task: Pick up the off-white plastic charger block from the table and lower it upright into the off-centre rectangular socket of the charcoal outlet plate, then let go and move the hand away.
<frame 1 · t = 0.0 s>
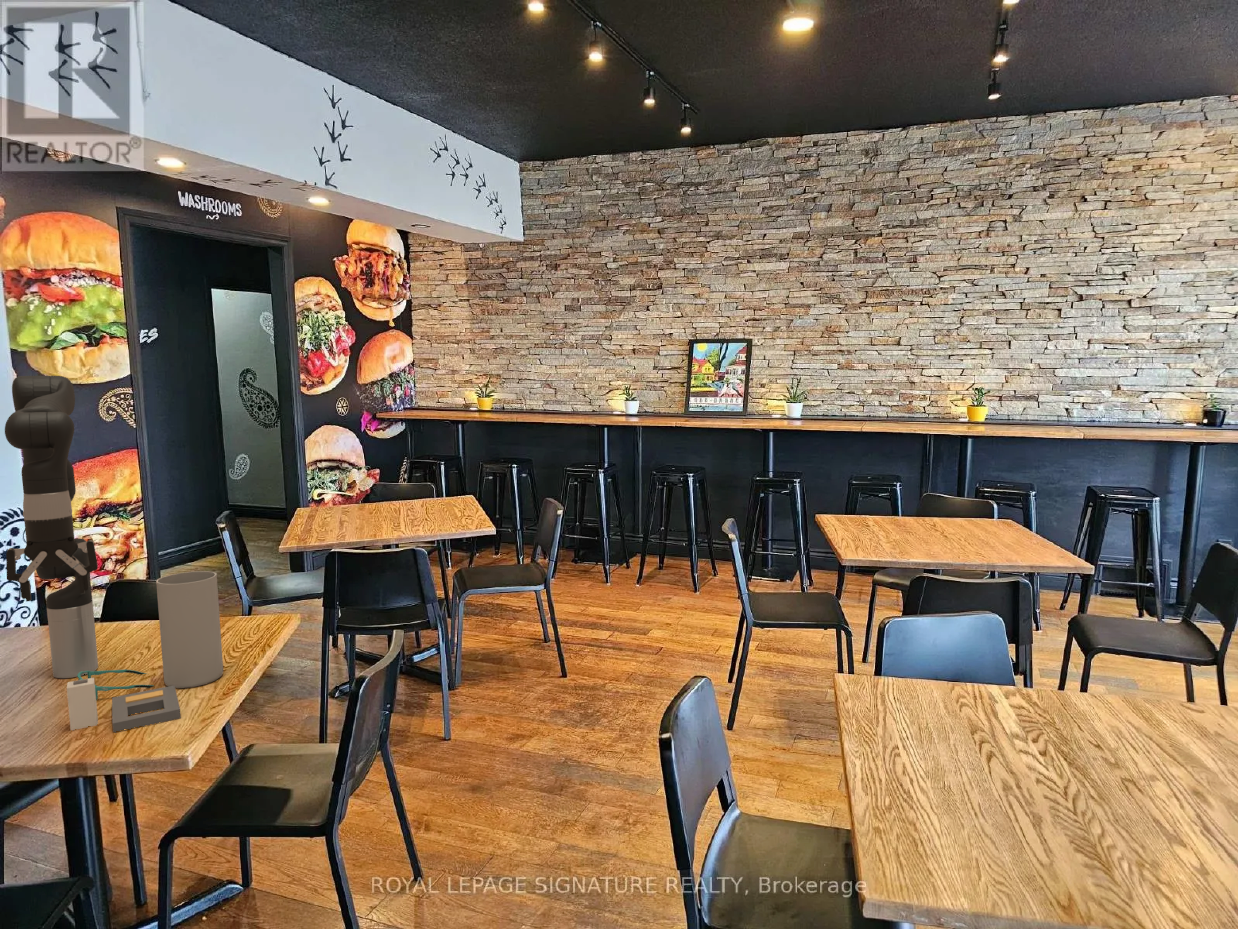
hand: (56, 596, 151), 29 cm above the table, tool pointing down, fingers open, 8 cm apart
cylinder vase: (194, 680, 185), on the table
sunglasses: (115, 690, 181), on the table
outlet plate: (146, 712, 167), on the table
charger: (84, 724, 161), on the table
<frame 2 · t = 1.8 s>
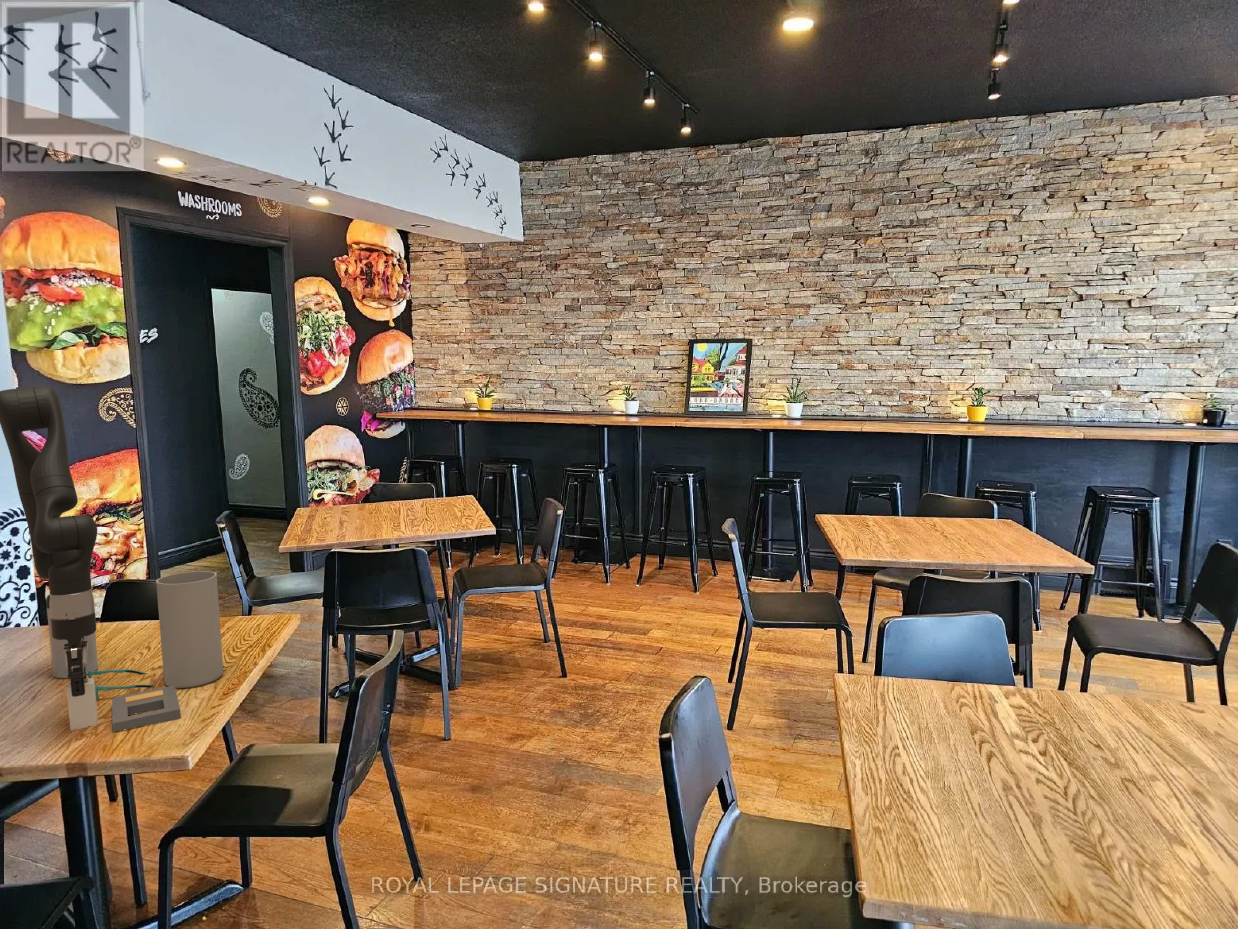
hand: (79, 689, 160), 8 cm above the table, tool pointing down, fingers open, 8 cm apart
nothing on the table moved.
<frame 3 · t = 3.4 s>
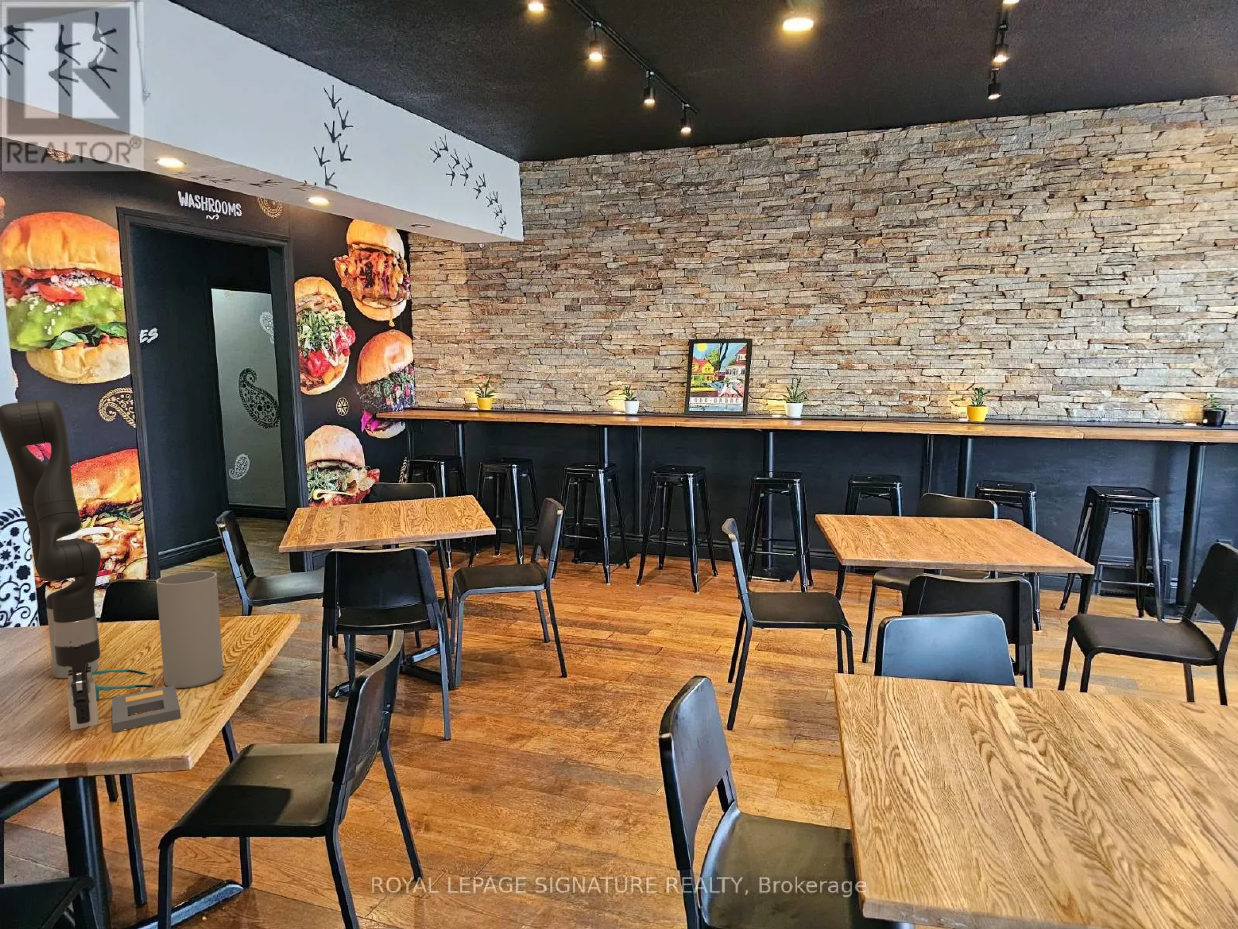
hand: (84, 718, 161), 1 cm above the table, tool pointing down, fingers closed on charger, 4 cm apart
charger: (84, 724, 161), on the table, touching gripper
everything else where it was.
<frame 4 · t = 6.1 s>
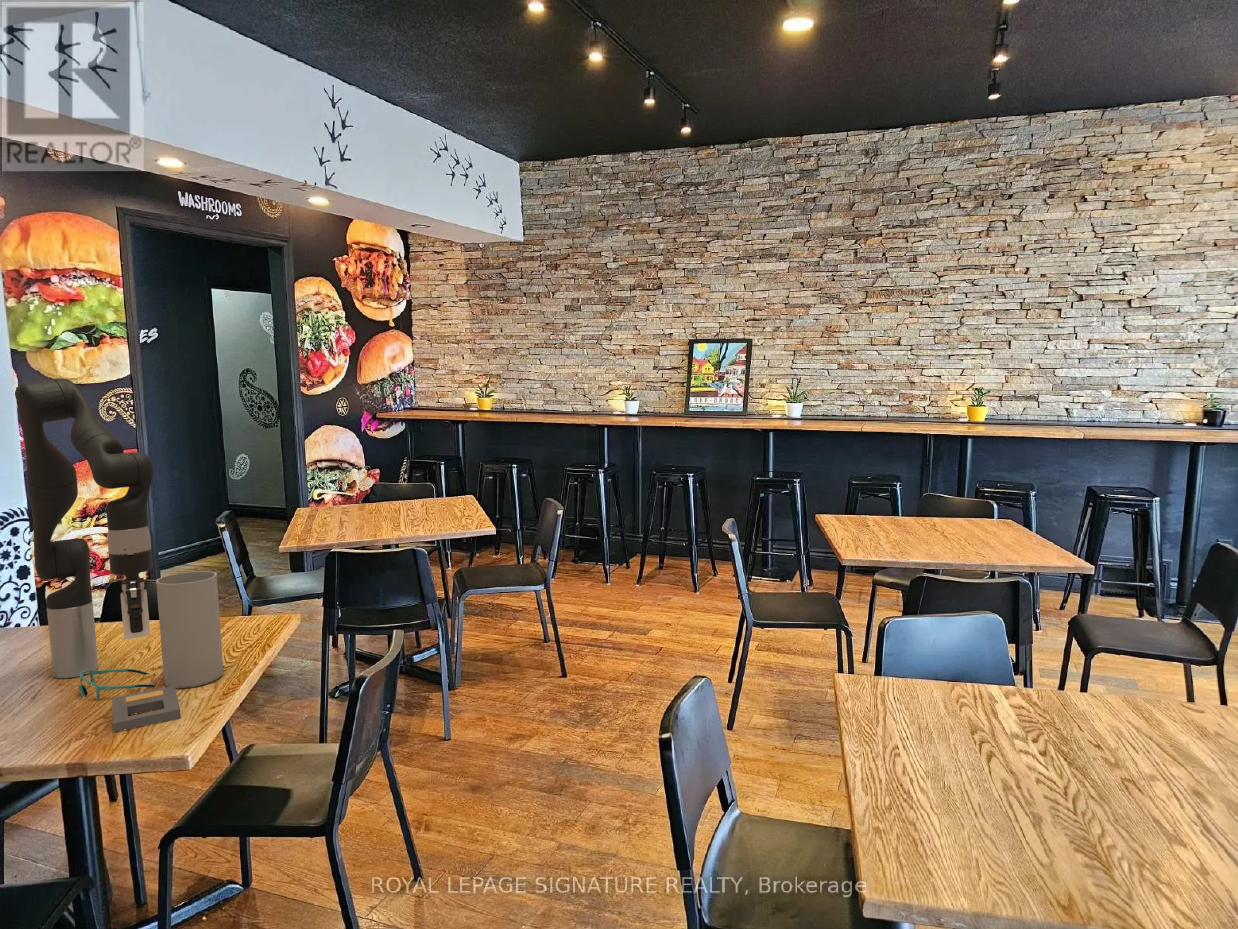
hand: (136, 628, 162), 19 cm above the table, tool pointing down, fingers closed on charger, 4 cm apart
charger: (137, 635, 162), point 18 cm above the table, touching gripper
everything else where it was.
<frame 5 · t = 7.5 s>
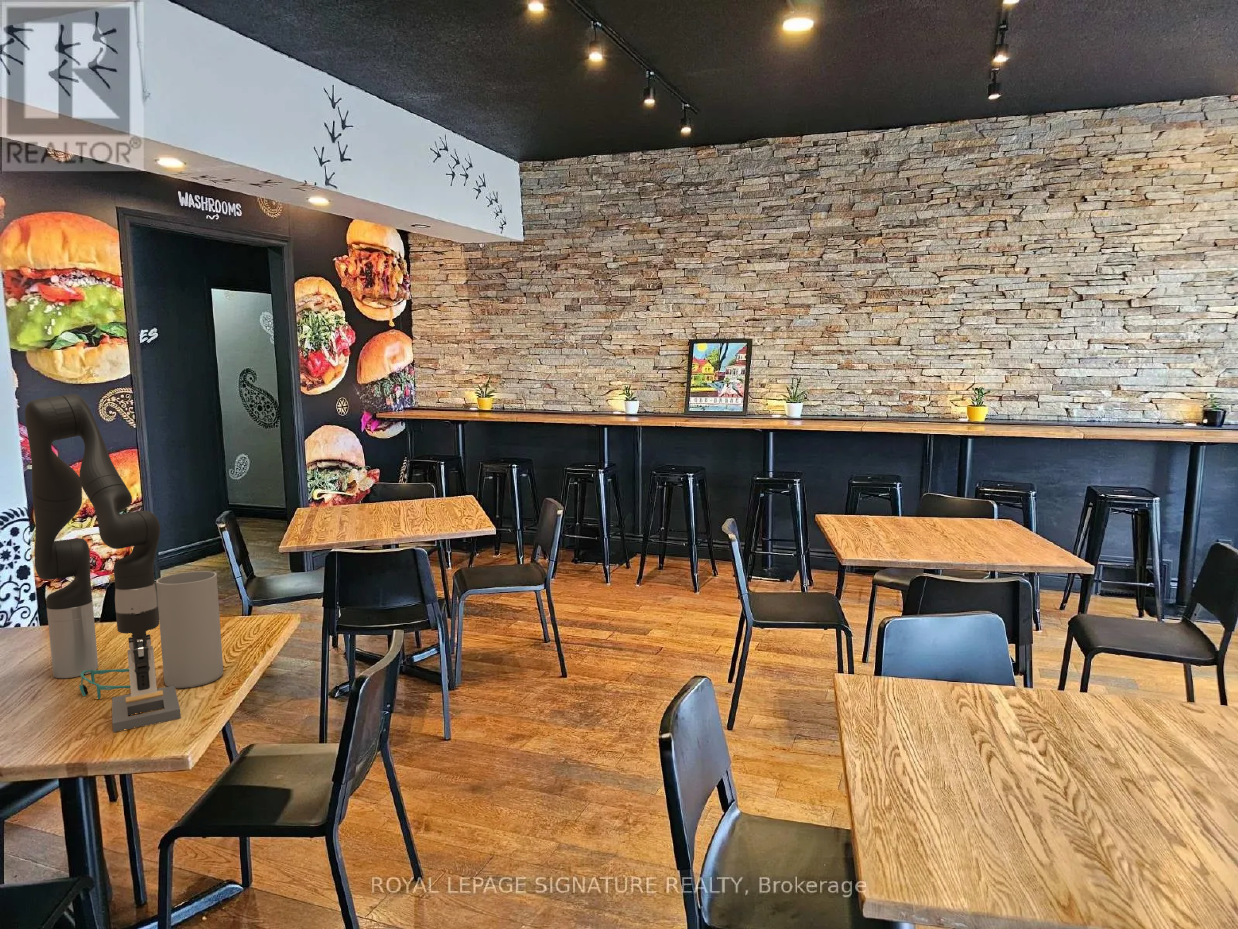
hand: (143, 685, 163), 7 cm above the table, tool pointing down, fingers closed on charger, 4 cm apart
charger: (143, 691, 163), point 6 cm above the table, touching gripper
everything else where it was.
when the fingers open (3 cm above the table, at t = 8.7 s): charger drops 1 cm, resting in outlet plate.
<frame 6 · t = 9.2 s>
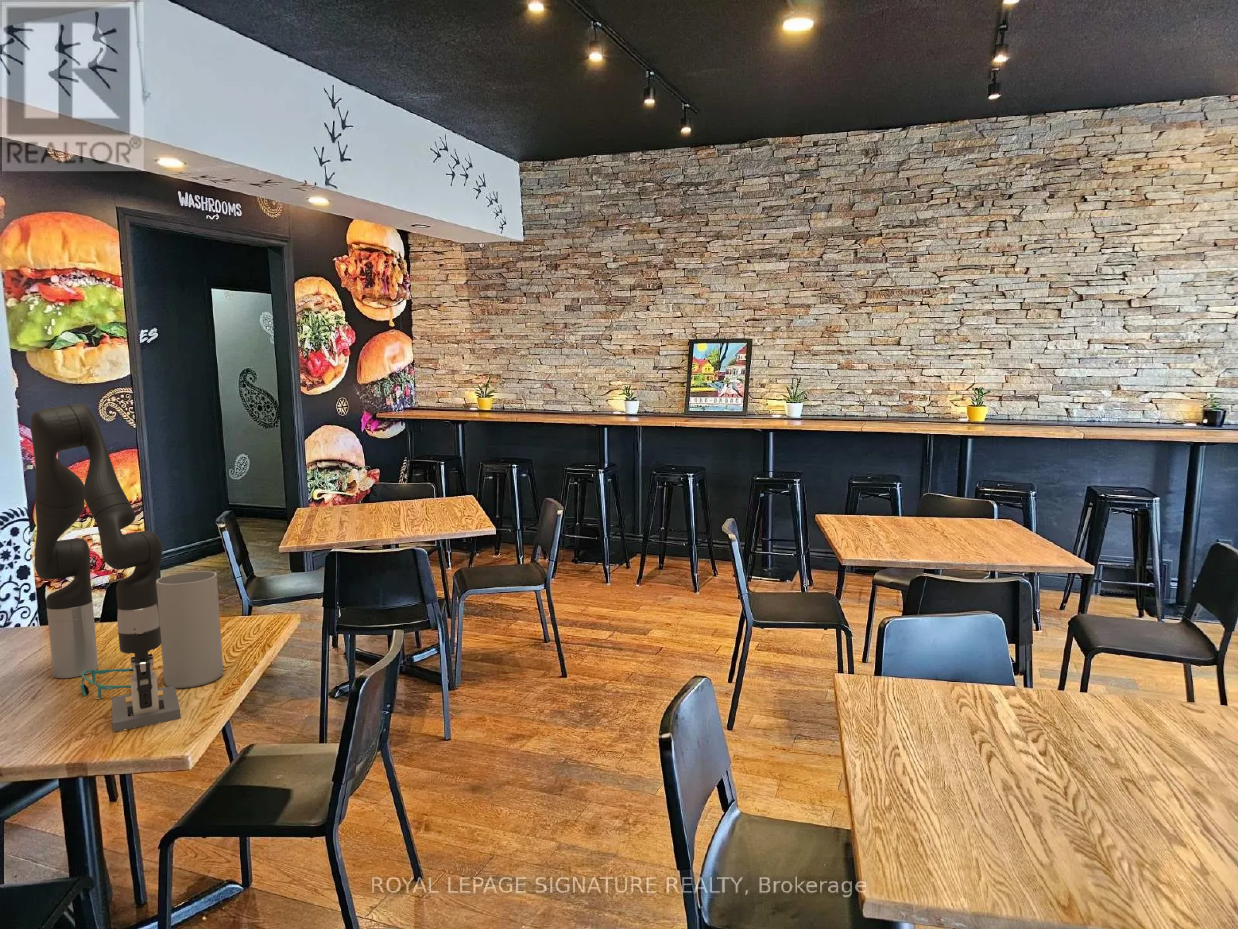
hand: (145, 700, 164), 4 cm above the table, tool pointing down, fingers open, 8 cm apart
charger: (146, 717, 164), resting in outlet plate
everything else where it was.
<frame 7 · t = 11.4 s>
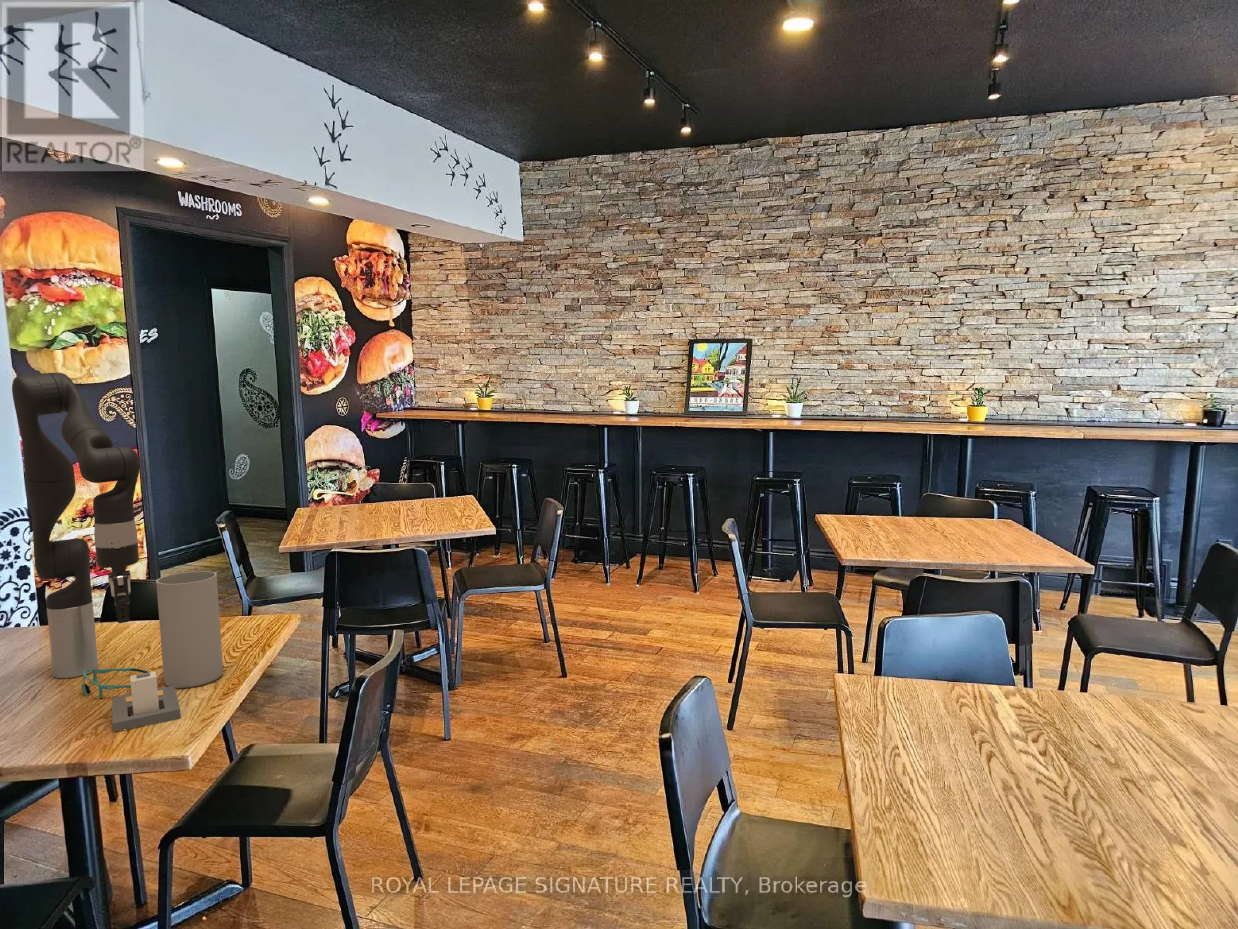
hand: (122, 616, 164), 21 cm above the table, tool pointing down, fingers open, 8 cm apart
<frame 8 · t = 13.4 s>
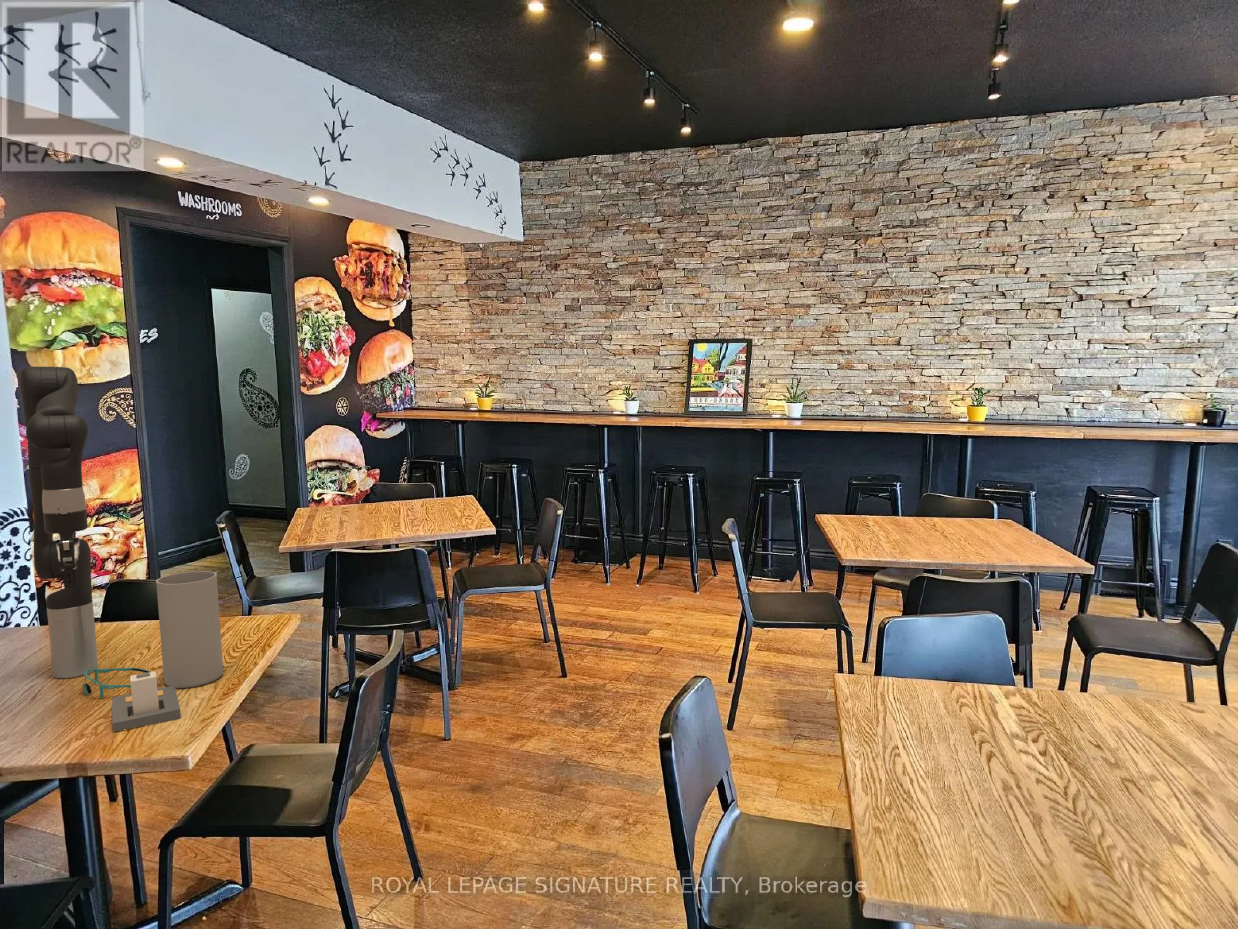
hand: (71, 583, 166), 28 cm above the table, tool pointing down, fingers open, 8 cm apart
at the end: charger 0.0 cm from the target spot on the outlet plate, point 0.0 cm above the outlet plate's base; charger tilted 0°; the gripper is holding nothing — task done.
